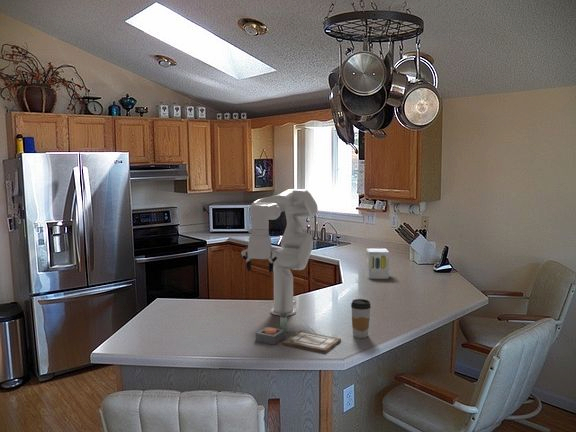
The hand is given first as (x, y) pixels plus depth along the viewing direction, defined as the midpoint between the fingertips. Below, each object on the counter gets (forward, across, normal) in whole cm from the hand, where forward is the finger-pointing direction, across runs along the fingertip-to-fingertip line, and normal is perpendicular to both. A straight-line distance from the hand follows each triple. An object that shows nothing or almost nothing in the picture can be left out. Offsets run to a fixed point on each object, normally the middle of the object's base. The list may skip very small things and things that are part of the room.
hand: (260, 271), depth 218 cm
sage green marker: (+26, +11, -2) cm, 28 cm away
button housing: (+26, +8, -12) cm, 30 cm away
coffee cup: (+26, +44, 0) cm, 51 cm away
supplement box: (+25, +47, +114) cm, 126 cm away
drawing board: (+26, +26, -12) cm, 39 cm away
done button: (+24, +8, -12) cm, 28 cm away
